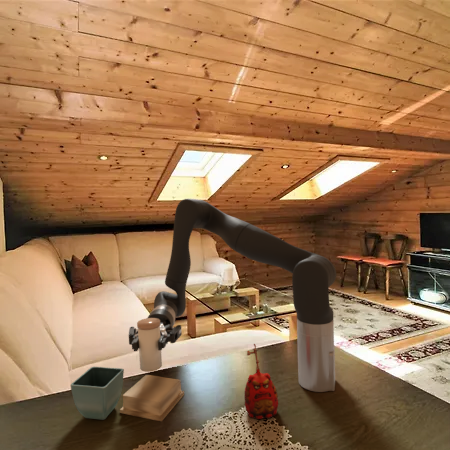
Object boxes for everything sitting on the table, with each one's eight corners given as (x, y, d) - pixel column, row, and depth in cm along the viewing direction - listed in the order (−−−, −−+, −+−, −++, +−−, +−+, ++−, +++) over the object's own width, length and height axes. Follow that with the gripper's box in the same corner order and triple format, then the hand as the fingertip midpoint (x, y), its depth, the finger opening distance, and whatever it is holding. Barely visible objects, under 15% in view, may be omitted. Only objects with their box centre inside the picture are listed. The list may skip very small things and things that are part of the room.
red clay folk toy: (249, 424, 73) (246, 356, 72) (241, 405, 80) (238, 343, 79) (282, 418, 75) (280, 352, 74) (271, 400, 82) (269, 340, 81)
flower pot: (107, 427, 74) (104, 387, 74) (71, 423, 76) (69, 384, 75) (126, 403, 83) (124, 368, 82) (94, 401, 84) (92, 366, 84)
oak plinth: (184, 394, 86) (183, 379, 86) (161, 421, 75) (160, 404, 75) (146, 387, 90) (145, 373, 89) (119, 412, 79) (118, 396, 79)
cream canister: (166, 362, 84) (164, 318, 83) (154, 373, 79) (152, 326, 78) (147, 359, 86) (145, 317, 85) (135, 370, 81) (132, 324, 80)
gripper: (134, 309, 96) (115, 332, 79) (185, 307, 96) (177, 330, 79) (136, 335, 96) (117, 363, 79) (186, 333, 96) (178, 361, 79)
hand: (147, 346), depth 79 cm, fingers closed on cream canister, 5 cm apart
